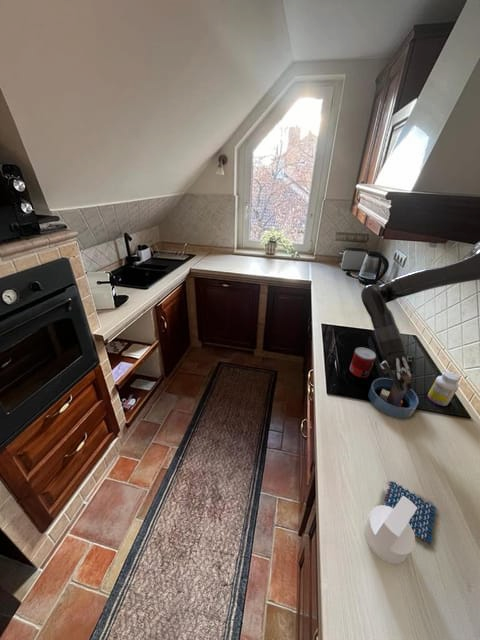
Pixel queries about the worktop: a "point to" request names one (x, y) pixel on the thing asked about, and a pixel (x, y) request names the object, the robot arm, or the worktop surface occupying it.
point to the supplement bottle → (444, 388)
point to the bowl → (388, 408)
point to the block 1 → (384, 395)
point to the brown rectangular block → (397, 395)
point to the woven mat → (424, 512)
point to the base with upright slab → (391, 531)
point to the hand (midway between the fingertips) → (405, 389)
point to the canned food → (362, 362)
